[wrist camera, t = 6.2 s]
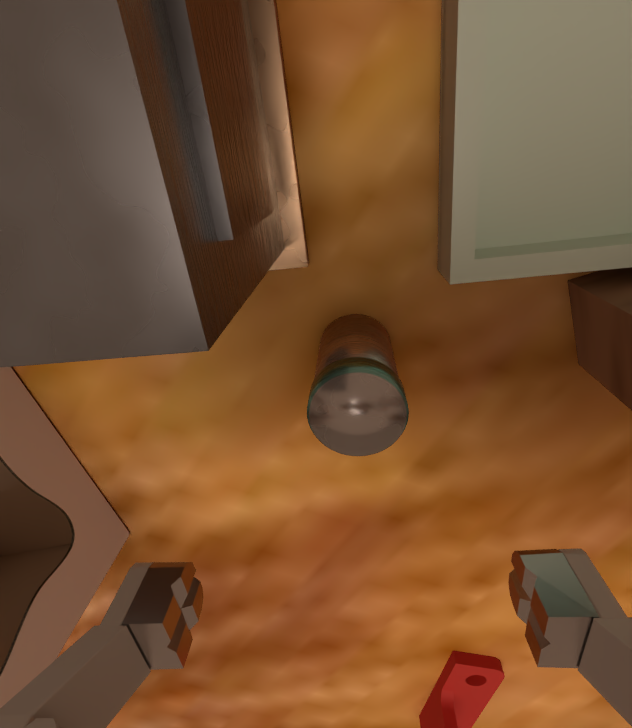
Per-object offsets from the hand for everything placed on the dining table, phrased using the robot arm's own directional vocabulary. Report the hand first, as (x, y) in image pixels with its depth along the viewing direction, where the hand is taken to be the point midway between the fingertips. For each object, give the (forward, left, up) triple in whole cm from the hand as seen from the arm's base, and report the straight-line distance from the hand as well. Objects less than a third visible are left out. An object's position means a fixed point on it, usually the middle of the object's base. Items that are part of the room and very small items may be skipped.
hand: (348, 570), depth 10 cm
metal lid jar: (0, 0, -14) cm, 14 cm away
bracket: (-7, +36, -14) cm, 40 cm away
